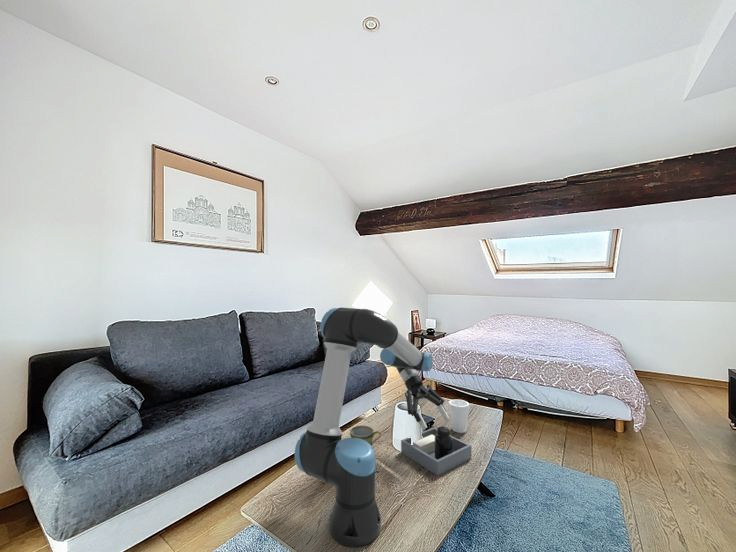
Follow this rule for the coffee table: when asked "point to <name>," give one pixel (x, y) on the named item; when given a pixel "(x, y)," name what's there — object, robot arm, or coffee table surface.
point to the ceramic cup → (364, 433)
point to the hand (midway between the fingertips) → (436, 424)
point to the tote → (438, 467)
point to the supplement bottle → (442, 443)
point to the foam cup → (459, 415)
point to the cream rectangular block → (426, 444)
